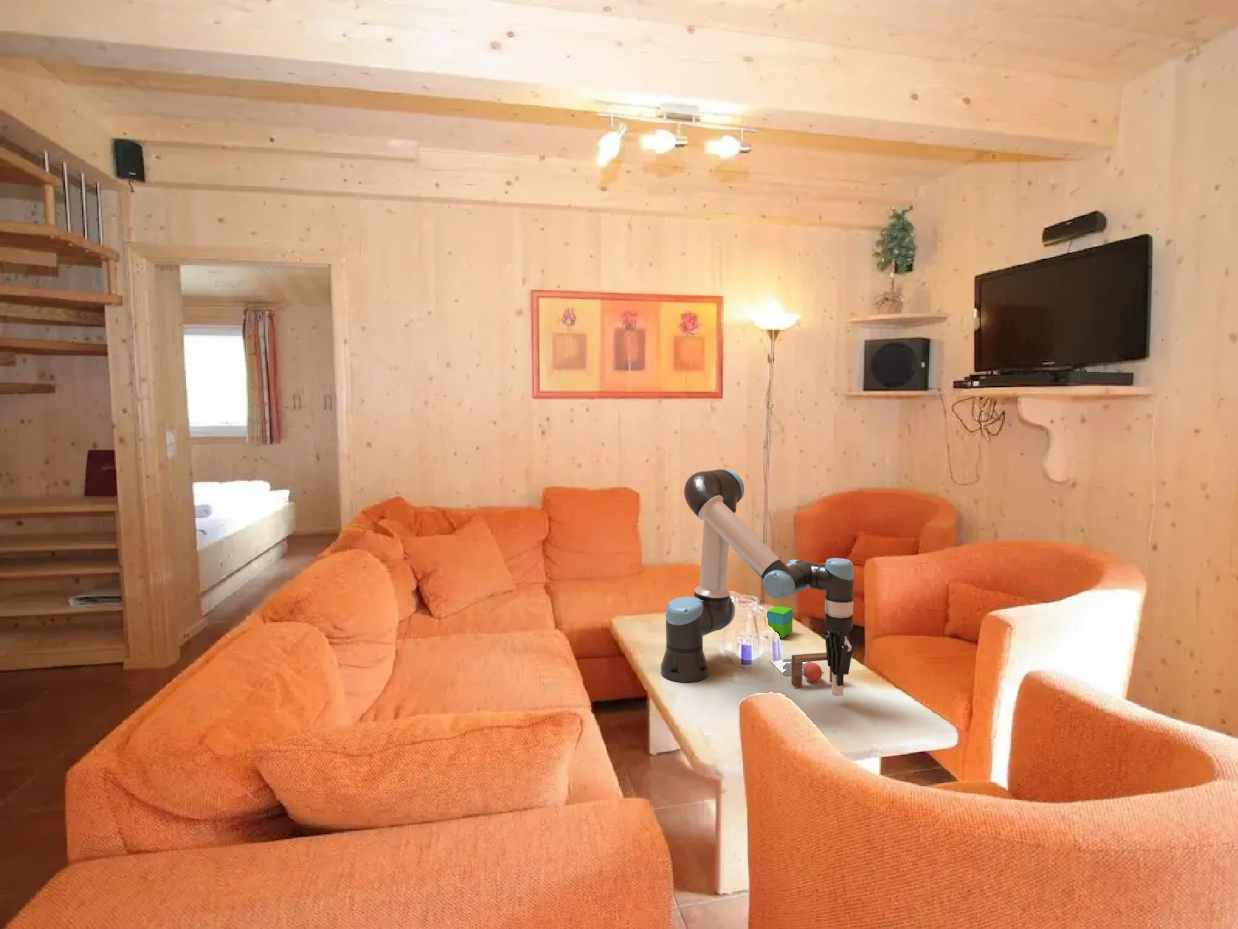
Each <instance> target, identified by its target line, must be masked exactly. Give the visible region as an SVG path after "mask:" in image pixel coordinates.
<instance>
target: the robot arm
mask: <svg viewBox="0 0 1238 929" xmlns="http://www.w3.org/2000/svg"><path fill="white" fill-rule="evenodd" d="M683 488H684V489H683V494H684V495H683V496H684V498H685V503H686V504H687V506H688V507H689V509H690V510H691V511H692V512H693V514H694V515H696V517H698V519H700V520H702V521H703V528H702V544H701V545H702V546H701V558H700V560H701V561H700V574H699V585H697V586H696V587H695V588H694V594H693V596H684V597H683V596H680V597H677V598H674V599H671V600H670V601H669V602H668V604H667V605H666V610H665V651H664V655H663V658H662V661H661V663H660V674H661V676H662V677H664V678H665V679H667V680H670V681H673V682H677V683H693V682H698V681H702V680H705V679H706V678H707V677H708V675H709V665H708V662H707V659H706V655H705V653H704V648H703V647H704V645H703V644H704V643H703V642H704V638H703V637H704V636H707V635H710V634H711V633H713V632H716V631H721V630H723V629H724V628H726V627H727V626H729V625H730V624H731V623H732V621H733V620H734V617H735V614H736V606H735V602H733V598H732V597H731V596H730V595H731V594H730V590H728V589H727V584H726V583H727V572H728V559H729V547H731V548H732V549H733V550H734V551H735V552H736V553H737V554H738V555H739V556H740V557H741V559H743V560H744V562H746V563H747V565H748V566H749V567H750V568H751V569H752V570H753V571H754V572H755V573H757V575H758V576H759V577H760V578H761V579H762V580H763V581H762V586H763V589H764V592H765V593H766V594H767V596H769V597H771V598H772V599H783V598H787V597H791V595H794V594H797V593H799V592H802V591H805V590H807V589H813V590H817V591H818V590H819V591H823V592H825V594H824V597H825V598H824V612H825V614H824V626H825V627H826V628H827V629H828V630H827V631H825V630H824V631H823V636H824V640H825V641H824V642H825V650H826V652H827V660H826V662H827V667H829V668H830V667H831V671H832V683H831V695H832V696H833V697H844V676H846V675H849V674H850V673H849V672H850V668H851V662H852V655H853V651H854V650H855V645H854V644H851V643H850V641H849V640H850V636H849V632H850V631H851V630H853V628H854V627H853V626H854V616H853V614H854V589H855V588H854V585H855V582H854V581H855V572H854V570H855V569H854V564H853V562H852V561H851V559H847V558H843V557H842V558H840V557H834V558H833V557H831V558H828V559H826V561H825V563H819V562H813V561H808V560H805V559H790V560H788V562H787V563H786V564H785V562H784V561H782V560H781V559H780V557H778V556H777V555H776V554H775V553H774V552H773V551H772V549H770V548H769V546H767V545H766V544H765V543H764V542H763V541H762V540H761V538H759V537H758V536H757V534H756V533H754V532H753V531H752V530H751V528H749V526H747V525H746V524H745V522H743V520H741V519H740V518H739V517H738V515H736V513H737V504H738V503H739V502H740V501H741V500H742V499H743V497H744V495H745V485H744V481H743V479H742V478H741V476H740V475H739V474H738V473H737V472H736V471H734V470H732V469H723V468H722V469H721V468H718V469H713V470H712V469H711V470H706V471H705V470H704V471H703V470H702V471H698V472H695V473H694V474H691V475H690V476H689V478H687V481H686V482H685V484H684V487H683ZM826 652H825V653H826Z"/></svg>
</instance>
